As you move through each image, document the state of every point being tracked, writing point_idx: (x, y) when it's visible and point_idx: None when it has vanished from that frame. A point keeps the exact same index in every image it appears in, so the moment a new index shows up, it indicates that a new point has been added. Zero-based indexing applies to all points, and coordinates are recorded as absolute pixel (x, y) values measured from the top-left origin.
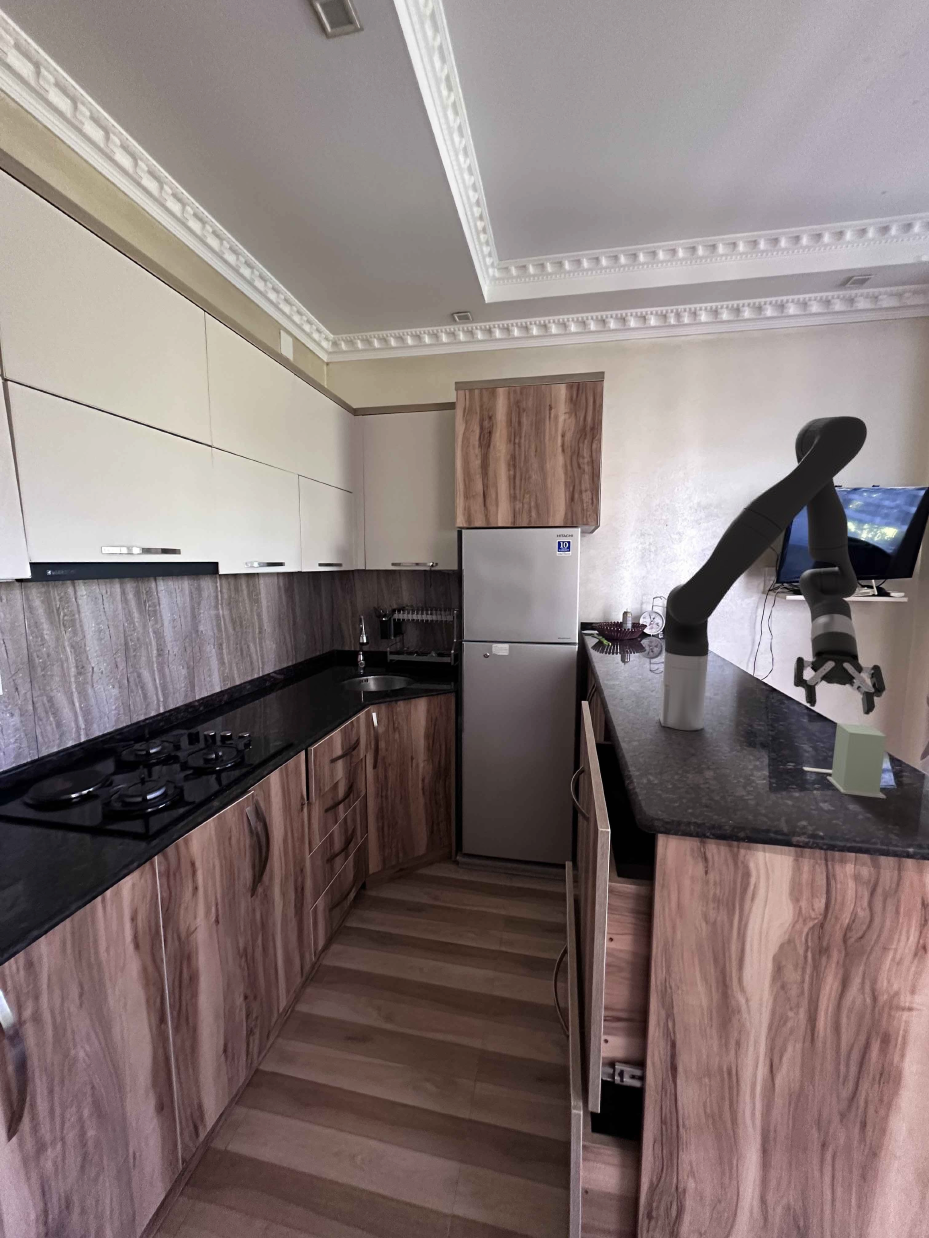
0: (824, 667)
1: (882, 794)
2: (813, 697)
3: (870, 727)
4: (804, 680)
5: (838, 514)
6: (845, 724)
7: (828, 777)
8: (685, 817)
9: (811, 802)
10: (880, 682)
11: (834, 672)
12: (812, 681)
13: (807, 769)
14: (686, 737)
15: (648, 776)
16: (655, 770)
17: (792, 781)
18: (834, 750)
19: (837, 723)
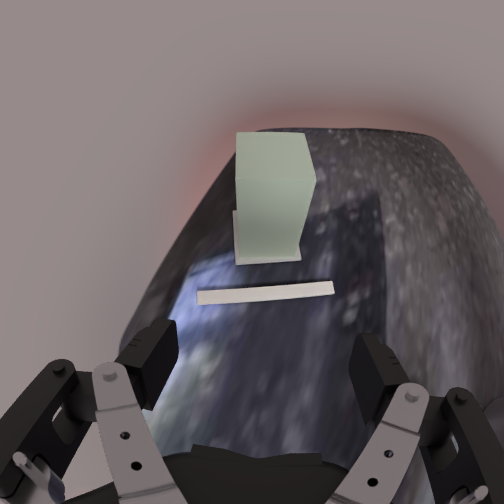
0: (377, 498)
1: (234, 216)
2: (374, 340)
3: (243, 170)
4: (434, 412)
5: None
6: (299, 173)
7: (299, 255)
8: (421, 138)
9: (333, 179)
10: (39, 392)
11: (282, 499)
12: (407, 399)
13: (328, 283)
14: (489, 366)
15: (473, 199)
16: (477, 215)
17: (353, 233)
18: (303, 224)
19: (315, 179)
